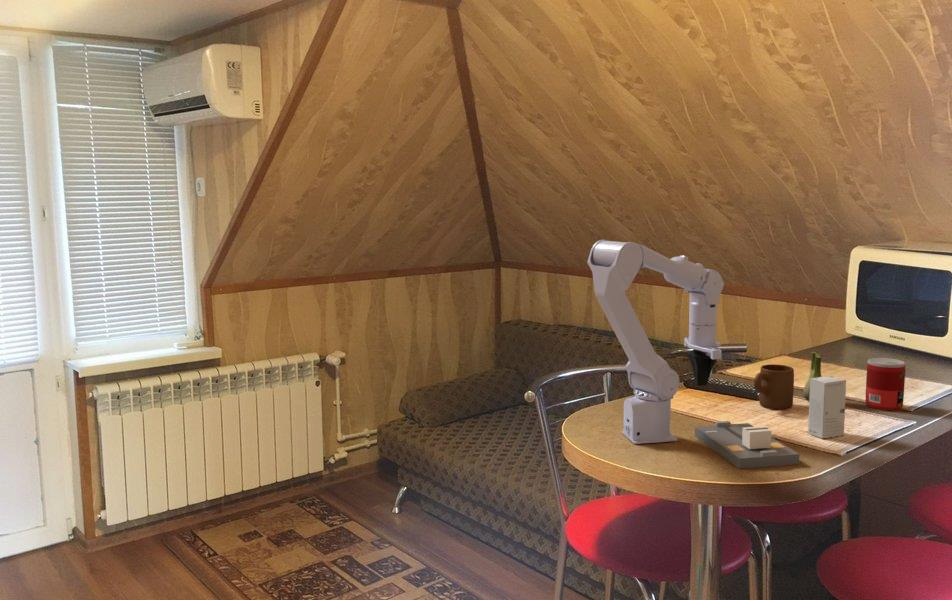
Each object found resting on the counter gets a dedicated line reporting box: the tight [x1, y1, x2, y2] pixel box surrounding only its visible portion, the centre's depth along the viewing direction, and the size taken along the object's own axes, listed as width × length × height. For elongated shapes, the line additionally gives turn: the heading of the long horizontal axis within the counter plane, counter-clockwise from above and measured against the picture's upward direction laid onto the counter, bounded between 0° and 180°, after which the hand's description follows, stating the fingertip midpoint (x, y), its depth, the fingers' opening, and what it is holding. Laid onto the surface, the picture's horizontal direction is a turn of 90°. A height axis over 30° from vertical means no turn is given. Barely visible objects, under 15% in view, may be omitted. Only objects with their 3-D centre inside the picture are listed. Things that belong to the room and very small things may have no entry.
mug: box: [753, 363, 795, 411], centre depth 186 cm, size 12×8×9 cm, turn 124°
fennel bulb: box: [802, 351, 822, 402], centre depth 191 cm, size 6×5×12 cm
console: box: [694, 420, 800, 470], centre depth 159 cm, size 12×20×3 cm, turn 9°
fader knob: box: [742, 425, 772, 449], centre depth 153 cm, size 4×3×4 cm
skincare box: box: [807, 375, 847, 439], centre depth 166 cm, size 6×4×12 cm
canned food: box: [864, 357, 907, 412], centre depth 185 cm, size 8×8×11 cm
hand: (701, 384), depth 173 cm, fingers closed
